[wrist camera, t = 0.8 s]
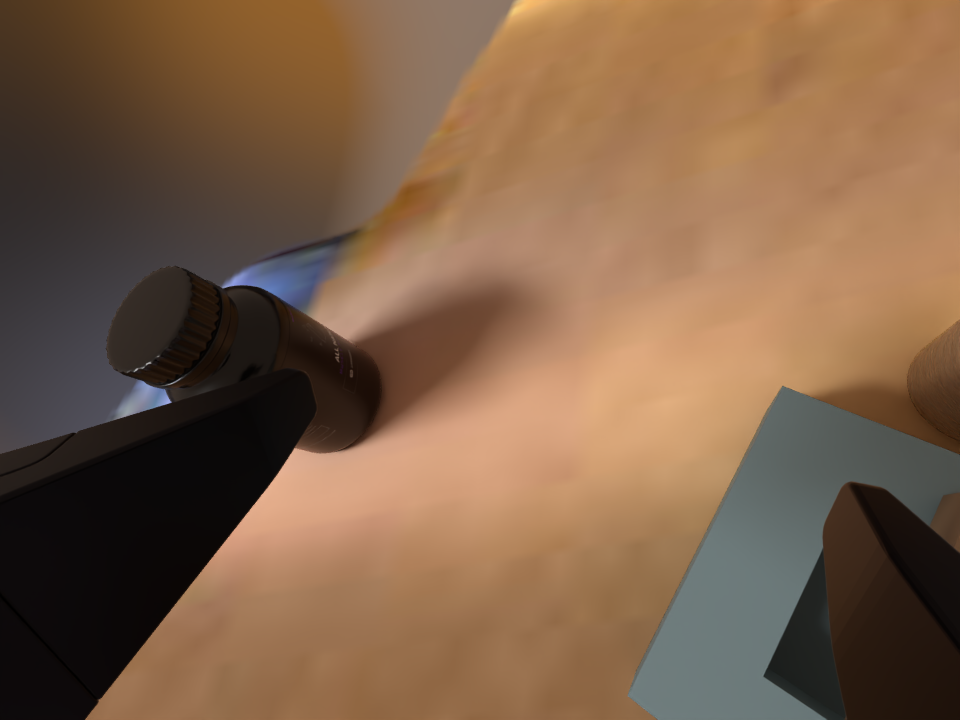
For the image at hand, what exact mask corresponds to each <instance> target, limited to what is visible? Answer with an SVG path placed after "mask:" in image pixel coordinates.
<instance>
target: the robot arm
mask: <svg viewBox="0 0 960 720" xmlns="http://www.w3.org/2000/svg"><path fill="white" fill-rule="evenodd" d="M316 412H317V402H316V398H315V394H314V391H313V387H312V383H311V380H310V377H309V375H308V374H307V373H306V372H305V371H302V370H297V369H292V368H285V369H281V370H278V371H275V372H271V373H268V374H265V375H261V376H258V377H255V378H252V379H248V380H245V381H242V382H238V383H235V384H232V385H229V386H225V387H222V388H219V389H215V390H212V391H209V392H205V393H202V394H199V395H196V396H192V397H189V398H186V399H182V400H179V401H176V402H173V403H169V404H166V405H163V406H159V407H156V408H153V409H149V410H146V411H143V412H140V413H136V414H133V415H130V416H126V417H123V418H120V419H117V420H113V421H110V422H107V423H103V424H100V425H97V426H94V427H91V428H87V429H84V430H80V431H78V432H77V433H70V434H67V435H64V436H60V437H57V438H54V439H50V440H47V441H44V442H40V443H37V444H33V445H30V446H27V447H23V448H20V449H16V450H13V451H10V452H6V453H2V454H0V720H85V719H86V718H87V716H88V715H89V714H90V713H91V711H92V710H93V709H94V708H95V706H96V705H97V704H98V702H99V699H101V698H102V697H103V695H104V694H105V693H106V692H107V690H108V689H109V688H110V687H111V685H112V684H113V683H114V681H115V680H116V679H117V678H118V676H119V675H120V674H121V673H122V671H123V670H124V669H125V668H126V666H127V665H128V664H129V662H130V661H131V660H132V659H133V657H134V656H135V655H136V654H137V652H138V651H139V650H140V649H141V647H142V646H143V645H144V643H145V642H146V641H147V640H148V638H149V637H150V636H151V635H152V633H153V632H154V631H155V630H156V628H157V627H158V626H159V624H160V623H161V622H162V621H163V619H164V618H165V617H166V616H167V614H168V613H169V612H170V610H171V609H172V608H173V607H174V605H175V604H176V603H177V602H178V600H179V599H180V598H181V597H182V595H183V594H184V593H185V591H186V590H187V589H188V588H189V586H190V585H191V584H192V583H193V581H194V580H195V579H196V578H197V576H198V575H199V574H200V572H201V571H202V570H203V569H204V567H205V566H206V565H207V564H208V562H209V561H210V560H211V559H212V557H213V556H214V555H215V553H216V552H217V551H218V550H219V548H220V547H221V546H222V545H223V543H224V542H225V541H226V540H227V538H228V537H229V536H230V534H231V533H232V532H233V531H234V529H235V528H236V527H237V526H238V524H239V523H240V522H241V521H242V519H243V518H244V517H245V515H246V514H247V513H248V512H249V510H250V509H251V508H252V507H253V505H254V504H255V503H256V501H257V500H258V499H259V498H260V496H261V495H262V494H263V493H264V491H265V490H266V489H267V488H268V486H269V485H270V484H271V482H272V481H273V480H274V478H275V477H276V475H277V474H278V472H279V471H280V470H281V468H282V467H283V465H284V464H285V462H286V460H287V459H288V457H289V456H290V454H291V453H292V451H293V450H294V448H295V447H296V445H297V443H298V442H299V440H300V439H301V437H302V436H303V434H304V433H305V431H306V430H307V428H308V427H309V425H310V423H311V422H312V420H313V419H314V417H315V415H316ZM822 539H823V552H824V564H825V576H826V588H827V600H828V612H829V624H830V634H831V643H832V650H833V656H834V661H835V667H836V672H837V677H838V681H839V686H840V691H841V695H842V700H843V705H844V710H845V714H846V719H847V720H960V552H959V551H957V550H956V549H955V548H954V547H953V546H952V545H950V544H949V543H948V542H947V541H946V540H945V539H944V538H942V537H941V536H940V535H939V534H938V533H937V532H935V531H934V530H933V529H932V528H931V527H930V526H929V525H927V524H926V523H925V522H924V521H923V520H922V519H920V518H919V517H918V516H917V515H916V514H915V513H914V512H912V511H911V510H910V509H909V508H908V507H907V506H905V505H904V504H903V503H902V502H901V501H900V500H899V499H897V498H896V497H895V496H894V495H893V494H892V493H890V492H889V491H888V490H886V489H884V488H882V487H878V486H873V485H868V484H863V483H858V482H854V481H850V482H847V483H845V484H844V485H843V486H842V487H841V489H840V491H839V493H838V495H837V497H836V499H835V501H834V504H833V506H832V508H831V510H830V512H829V514H828V516H827V518H826V520H825V523H824V527H823V536H822Z"/></svg>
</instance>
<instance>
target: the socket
mask: <svg viewBox="0 0 960 720" xmlns="http://www.w3.org/2000/svg"><path fill="white" fill-rule="evenodd" d="M850 481H854V482H858V483H863V484H868V485H873V486H878V487H882V488H884V489H886V490H888V491H889V492H890V493H892V494H893V495H894V496H895V497H896V498H897V499H899V500H900V501H901V502H902V503H903V504H904V505H905V506H907V507H908V508H909V509H910V510H911V511H912V512H914V513H915V514H916V515H917V516H918V517H919V518H920V519H922V520H923V521H924V522H925V523H926V524H927V525H929V526H930V524H931V522H932V520H933V517H934V515H935V513H936V511H937V508H938V506H939V504H940V502H941V499H942V497H943V495H948V494H954V493H959V492H960V454H957V453H954V452H952V451H949V450H947V449H944V448H941V447H939V446H936V445H934V444H931V443H929V442H926V441H923V440H921V439H918V438H916V437H913V436H910V435H908V434H905V433H903V432H900V431H898V430H895V429H892V428H890V427H887V426H885V425H882V424H879V423H877V422H874V421H872V420H869V419H867V418H864V417H861V416H859V415H856V414H854V413H851V412H848V411H846V410H843V409H841V408H838V407H836V406H833V405H830V404H828V403H825V402H823V401H820V400H817V399H815V398H812V397H810V396H807V395H805V394H802V393H799V392H797V391H794V390H792V389H789V388H786V387H784V386H782V388H781V389H780V391H779V392H778V394H777V395H776V397H775V399H774V400H773V402H772V403H771V405H770V406H769V408H768V409H767V411H766V413H765V415H764V417H763V419H762V421H761V423H760V425H759V427H758V429H757V431H756V433H755V435H754V437H753V439H752V441H751V443H750V445H749V447H748V449H747V451H746V453H745V455H744V457H743V459H742V461H741V463H740V465H739V467H738V469H737V471H736V473H735V475H734V477H733V479H732V481H731V483H730V485H729V487H728V489H727V491H726V493H725V495H724V497H723V499H722V501H721V503H720V505H719V507H718V509H717V511H716V513H715V515H714V517H713V519H712V521H711V523H710V525H709V527H708V529H707V531H706V533H705V535H704V537H703V539H702V541H701V543H700V545H699V547H698V549H697V551H696V553H695V555H694V557H693V559H692V561H691V563H690V565H689V567H688V569H687V571H686V573H685V575H684V577H683V579H682V581H681V583H680V585H679V587H678V589H677V591H676V593H675V595H674V597H673V599H672V601H671V603H670V605H669V607H668V609H667V611H666V613H665V615H664V617H663V619H662V621H661V623H660V625H659V627H658V629H657V631H656V633H655V635H654V637H653V639H652V641H651V643H650V645H649V647H648V649H647V651H646V653H645V655H644V657H643V659H642V661H641V663H640V665H639V667H638V669H637V671H636V673H635V676H634V679H633V682H632V685H631V687H630V690H629V693H628V696H629V697H630V698H631V699H632V700H634V701H635V702H636V703H637V704H639V705H640V706H641V707H642V708H644V709H645V710H646V711H647V712H649V713H650V714H651V715H653V716H654V717H655V718H656V719H658V720H845V717H846V714H845V710H844V705H843V700H842V695H841V691H840V686H839V681H838V677H837V672H836V667H835V661H834V656H833V650H832V643H831V634H830V624H829V612H828V600H827V588H826V576H825V564H824V552H823V539H822V536H823V527H824V523H825V520H826V518H827V516H828V514H829V512H830V510H831V508H832V506H833V504H834V501H835V499H836V497H837V495H838V493H839V491H840V489H841V487H842V486H843V485H844V484H845V483H847V482H850Z"/></svg>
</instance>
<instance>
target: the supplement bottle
mask: <svg viewBox="0 0 960 720" xmlns="http://www.w3.org/2000/svg"><path fill="white" fill-rule="evenodd" d="M106 350H107V358H108V359H109V364H110V365H112V366H113V369H114V370H116V371H118V372H120V373H121V374H123V375H126V376H129V377H132V378H135V379H138V380H142V381H144V382H145V383H146V384H148V385H150V386H153V387H157V388H160V389H165V390H166V393H167V395H168V397H169V399H170V401H171V402H172V403H173V402H176V401H179V400H182V399H186V398H189V397H192V396H196V395H199V394H202V393H205V392H209V391H212V390H215V389H219V388H222V387H225V386H229V385H232V384H235V383H238V382H242V381H245V380H248V379H252V378H255V377H258V376H261V375H265V374H268V373H271V372H275V371H278V370H281V369H285V368H292V369H297V370H302V371H305V372H306V373H307V374H308V375H309V377H310V380H311V383H312V387H313V391H314V394H315V398H316V402H317V412H316V415H315V417H314V419H313V420H312V422H311V423H310V425H309V427H308V428H307V430H306V431H305V433H304V434H303V436H302V437H301V439H300V440H299V442H298V443H297V445H296V447H295V448H297V449H301V450H305V451H309V452H314V453H331V452H336V451H339V450H341V449H343V448H345V447H347V446H349V445H350V444H352V443H353V442H355V441H356V440H357V439H358V438H359V437H360V436H361V435H362V434H363V433H364V432H365V431H366V429H367V428H368V427H369V425H370V424H371V422H372V420H373V418H374V416H375V414H376V412H377V409H378V406H379V402H380V397H381V379H380V374H379V371H378V368H377V366H376V364H375V363H374V361H373V360H372V358H371V357H370V356H369V355H368V354H367V353H366V352H364V351H363V350H362V349H360V348H359V347H357V346H355V345H354V344H352V343H351V342H349V341H348V340H346V339H344V338H343V337H341V336H340V335H338V334H336V333H335V332H333V331H332V330H330V329H328V328H327V327H325V326H324V325H322V324H320V323H319V322H317V321H315V320H314V319H312V318H311V317H309V316H307V315H306V314H304V313H303V312H301V311H299V310H298V309H296V308H295V307H293V306H291V305H290V304H288V303H287V302H285V301H283V300H282V299H280V298H278V297H277V296H275V295H273V294H272V293H270V292H268V291H266V290H264V289H262V288H259V287H255V286H247V285H238V286H230V287H226V288H221V287H220V286H218V285H216V284H215V283H213V282H211V281H208V280H204V279H203V278H201V277H199V276H197V275H196V274H194V273H192V272H190V271H188V270H187V269H184V268H180V267H177V266H174V267H170V266H168V267H166V268H160V269H159V270H157V271H154V272H152V273H151V274H150V275H148V276H146V277H145V278H144V279H143V280H142V281H141V282H139V283H137V285H136V286H135V287H134V288H133V289H132V290H131V291H130V292H129V294H128V296H127V297H126V298H125V299H124V300H123V302H122V304H121V306H120V307H119V308H118V310H117V312H116V315H115V317H114V318H113V320H112V324H111V326H110V329H109V335H108V337H107V347H106Z"/></svg>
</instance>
